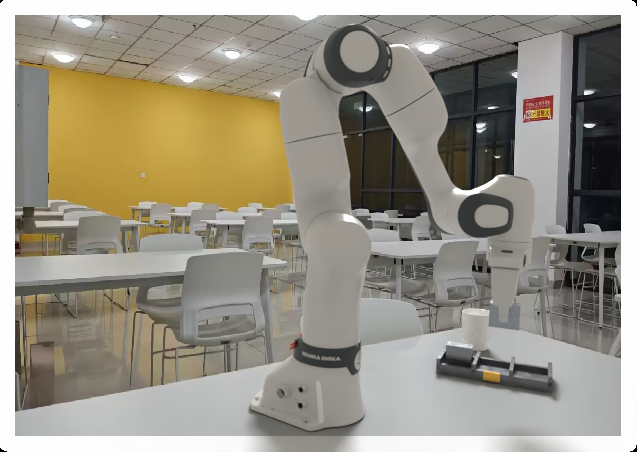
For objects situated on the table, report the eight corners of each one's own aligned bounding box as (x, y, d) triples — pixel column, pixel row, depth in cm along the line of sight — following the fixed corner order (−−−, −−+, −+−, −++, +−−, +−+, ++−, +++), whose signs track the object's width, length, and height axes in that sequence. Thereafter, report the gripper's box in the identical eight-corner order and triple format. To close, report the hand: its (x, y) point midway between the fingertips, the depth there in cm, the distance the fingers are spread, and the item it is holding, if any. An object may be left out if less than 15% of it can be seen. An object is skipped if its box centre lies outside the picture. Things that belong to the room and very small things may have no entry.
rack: (435, 373, 121) (436, 348, 120) (443, 359, 130) (444, 336, 130) (551, 393, 111) (553, 366, 110) (551, 377, 120) (552, 352, 120)
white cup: (494, 352, 137) (496, 316, 136) (464, 351, 137) (466, 315, 136) (485, 343, 144) (487, 308, 144) (457, 342, 145) (458, 307, 144)
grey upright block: (488, 326, 107) (489, 302, 107) (489, 322, 110) (491, 300, 110) (518, 330, 105) (520, 306, 104) (519, 326, 108) (521, 303, 107)
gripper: (497, 247, 117) (493, 306, 118) (487, 258, 98) (483, 328, 99) (526, 249, 114) (522, 310, 115) (522, 261, 96) (517, 333, 97)
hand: (504, 319), depth 107 cm, fingers closed on grey upright block, 3 cm apart
